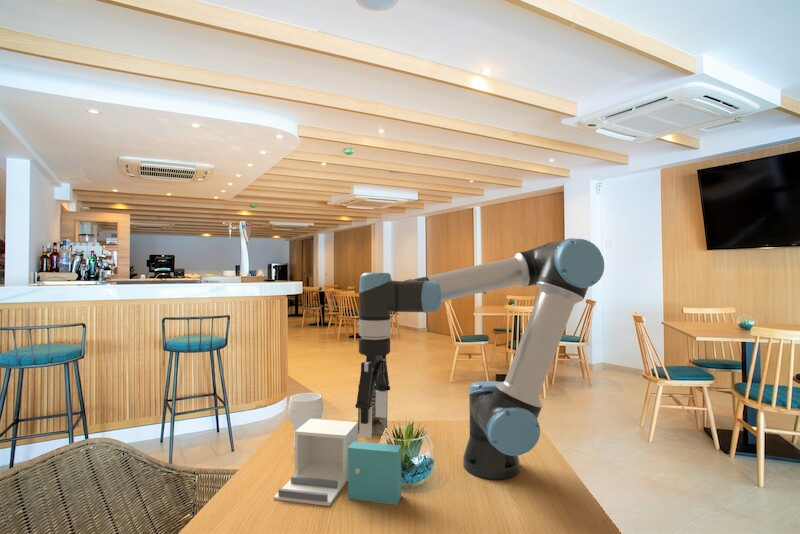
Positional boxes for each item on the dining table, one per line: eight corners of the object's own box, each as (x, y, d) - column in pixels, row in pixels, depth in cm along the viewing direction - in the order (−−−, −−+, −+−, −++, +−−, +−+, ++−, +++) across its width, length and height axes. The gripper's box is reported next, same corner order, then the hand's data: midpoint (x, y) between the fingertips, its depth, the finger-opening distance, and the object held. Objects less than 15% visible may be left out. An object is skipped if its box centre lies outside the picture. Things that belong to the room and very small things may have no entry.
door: (401, 495, 103) (401, 445, 103) (396, 506, 98) (396, 453, 98) (353, 490, 105) (353, 441, 106) (347, 500, 101) (347, 449, 101)
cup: (315, 454, 126) (315, 402, 127) (281, 451, 129) (281, 400, 129) (328, 440, 137) (328, 392, 137) (297, 437, 139) (297, 391, 139)
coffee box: (357, 433, 142) (357, 384, 143) (362, 426, 149) (362, 380, 149) (384, 435, 141) (384, 386, 141) (388, 428, 147) (388, 381, 147)
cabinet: (357, 465, 119) (357, 422, 119) (329, 506, 98) (329, 453, 98) (310, 461, 122) (310, 418, 122) (273, 499, 101) (273, 448, 101)
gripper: (373, 329, 116) (372, 408, 115) (341, 344, 91) (340, 445, 91) (400, 330, 114) (400, 411, 114) (375, 346, 90) (375, 448, 89)
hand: (373, 426), depth 102 cm, fingers open, 13 cm apart
